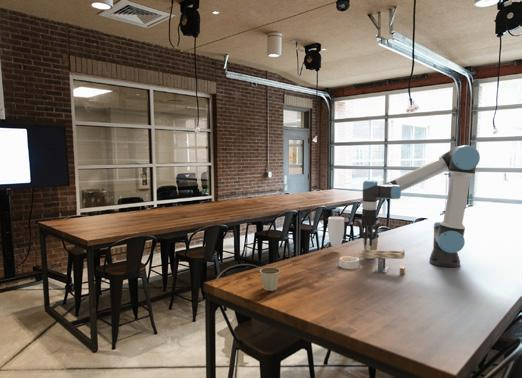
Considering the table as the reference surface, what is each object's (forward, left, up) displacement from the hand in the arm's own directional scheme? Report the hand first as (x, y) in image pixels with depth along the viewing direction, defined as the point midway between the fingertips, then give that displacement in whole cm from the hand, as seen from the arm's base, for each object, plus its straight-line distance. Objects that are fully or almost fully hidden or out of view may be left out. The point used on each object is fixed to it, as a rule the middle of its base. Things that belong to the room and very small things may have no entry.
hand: (368, 251), depth 200 cm
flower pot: (+33, +56, -8) cm, 66 cm away
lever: (-8, +4, 0) cm, 9 cm away
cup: (+24, -19, -8) cm, 31 cm away
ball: (+11, +7, -5) cm, 14 cm away
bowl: (+9, +7, -8) cm, 14 cm away
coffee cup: (+2, -14, -8) cm, 16 cm away
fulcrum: (-13, +7, -8) cm, 17 cm away
